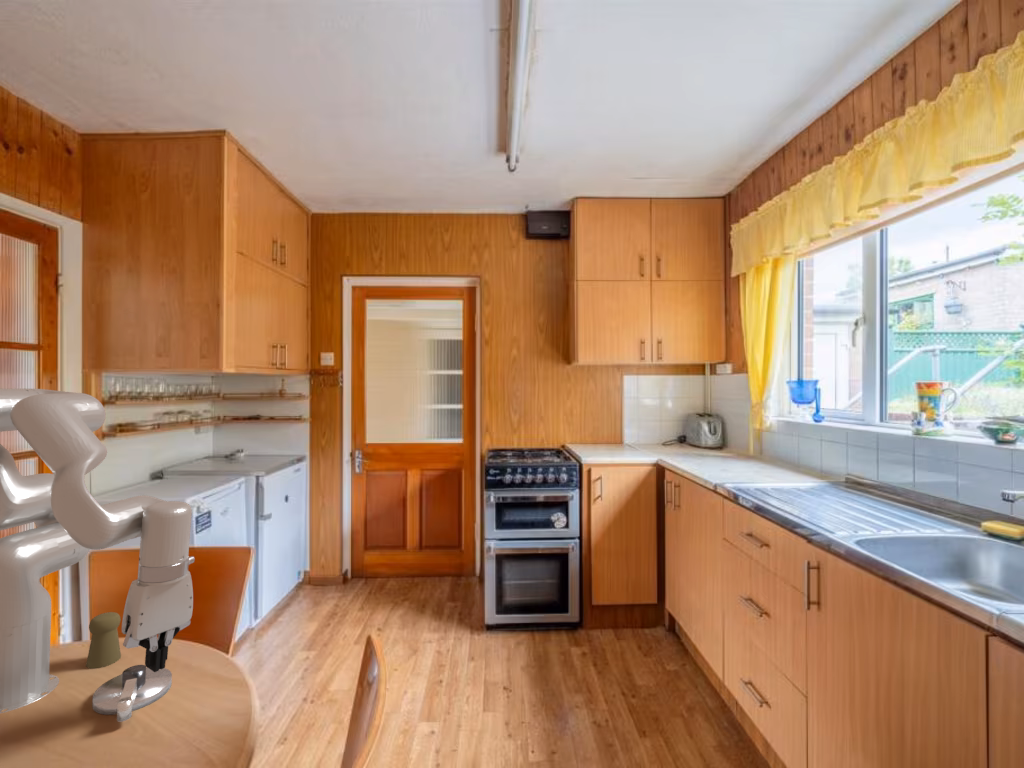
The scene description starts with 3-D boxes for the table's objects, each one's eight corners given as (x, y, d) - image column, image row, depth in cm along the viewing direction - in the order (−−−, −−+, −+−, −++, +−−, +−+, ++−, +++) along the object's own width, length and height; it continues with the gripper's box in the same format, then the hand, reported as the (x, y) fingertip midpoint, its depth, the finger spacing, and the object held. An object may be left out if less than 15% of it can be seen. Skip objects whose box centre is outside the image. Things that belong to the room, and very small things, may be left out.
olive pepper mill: (100, 676, 100) (102, 623, 100) (77, 672, 101) (78, 619, 101) (129, 660, 106) (130, 610, 106) (106, 656, 107) (108, 607, 107)
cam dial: (100, 685, 95) (101, 662, 95) (174, 668, 102) (174, 647, 102) (77, 741, 81) (78, 714, 81) (165, 718, 87) (166, 693, 87)
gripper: (194, 554, 99) (187, 643, 99) (105, 577, 85) (97, 680, 85) (215, 563, 95) (208, 656, 95) (126, 588, 82) (117, 696, 82)
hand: (155, 667), depth 90 cm, fingers closed
